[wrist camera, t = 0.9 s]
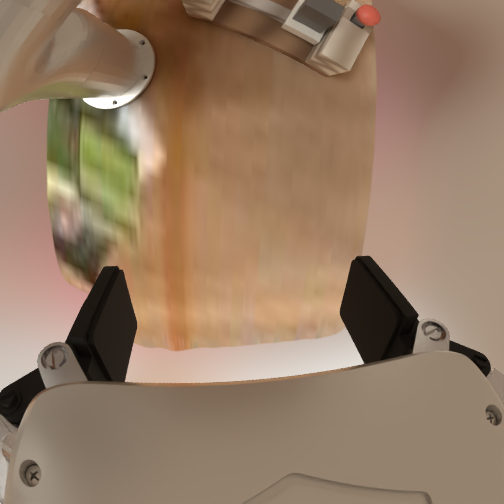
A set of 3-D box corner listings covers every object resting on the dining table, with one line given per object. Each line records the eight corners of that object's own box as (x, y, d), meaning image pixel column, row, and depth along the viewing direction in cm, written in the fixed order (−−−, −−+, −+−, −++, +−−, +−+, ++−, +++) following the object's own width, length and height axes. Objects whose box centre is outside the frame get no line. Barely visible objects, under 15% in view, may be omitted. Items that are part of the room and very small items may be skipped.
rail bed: (187, 15, 28) (179, -6, 21) (219, -32, 24) (220, -58, 17) (325, 76, 35) (349, 71, 27) (351, 29, 31) (378, 16, 23)
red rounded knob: (342, 22, 25) (356, 15, 21) (350, 9, 24) (364, 0, 20) (360, 34, 26) (375, 28, 22) (368, 21, 24) (383, 14, 21)
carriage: (279, 30, 29) (296, 9, 21) (294, 5, 27) (314, -19, 19) (311, 46, 31) (336, 32, 23) (325, 22, 29) (352, 3, 21)
